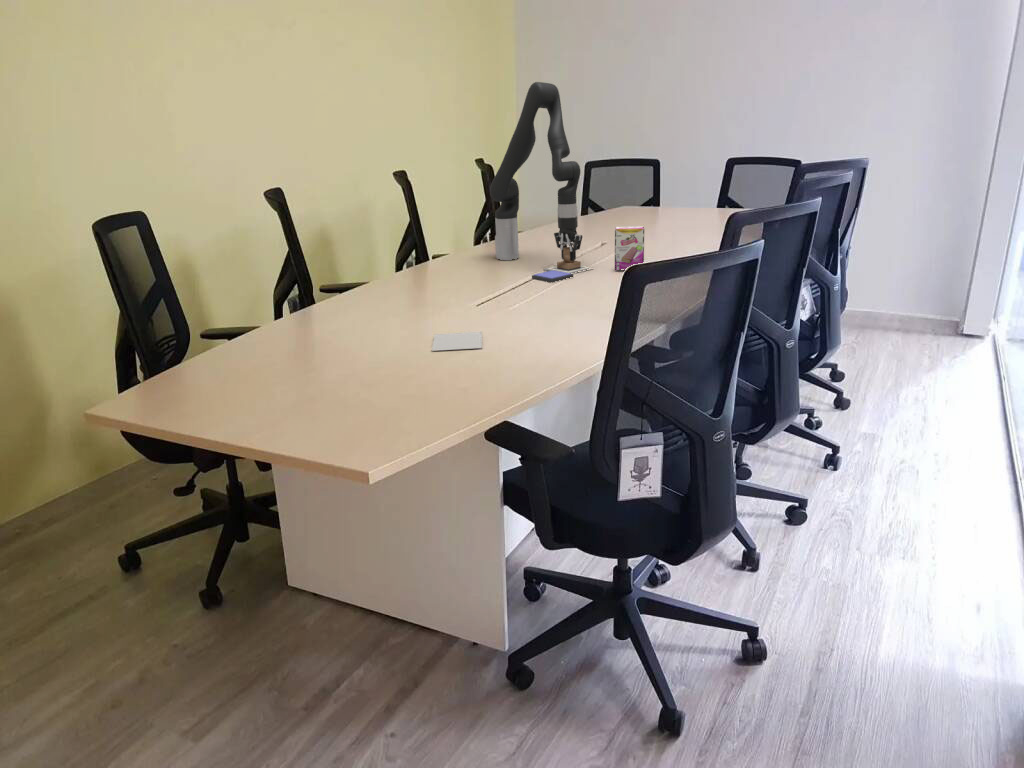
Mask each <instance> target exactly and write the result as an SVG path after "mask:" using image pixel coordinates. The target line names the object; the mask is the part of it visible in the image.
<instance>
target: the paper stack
mask: <svg viewBox="0 0 1024 768" xmlns="http://www.w3.org/2000/svg"><path fill="white" fill-rule="evenodd" d="M482 332H483V331H468V332H465V331H464V332H452V333H451V332H449V333H447V332H446V333H435V334H434V336H433V342H432V347H431V352H436V351H454V350H455V351H456V350H470V349H471V350H472V349H473V350H475V349H482V348H483V342H482V341H483V340H482V338H483V337H482V335H483V334H482Z"/></svg>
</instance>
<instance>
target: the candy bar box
mask: <svg viewBox="0 0 1024 768" xmlns="http://www.w3.org/2000/svg"><path fill="white" fill-rule="evenodd" d="M644 260H645V226H642V225H641V226H615V227H614V271H615V270H621V269H624V270H625V269H626V268H627V267H629V266H631V265H633V264H638V263H643V262H644V263H645V261H644ZM624 270H623V271H622V272H625V271H624Z"/></svg>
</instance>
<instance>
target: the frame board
mask: <svg viewBox="0 0 1024 768" xmlns="http://www.w3.org/2000/svg"><path fill="white" fill-rule="evenodd" d="M590 267H591V266H588V267H586V265H582V264H581V268H578V269H574V270H570V271H568V270H562V269H557V265H554V266H551V267H550V266H549V267H547V268H543V269H542V271H543V270H546V271H545V272H548V271H552V270H555V271H560V272H565V273H575V272H578V271H583V270H587V269H589V268H590Z"/></svg>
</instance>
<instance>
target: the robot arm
mask: <svg viewBox="0 0 1024 768" xmlns="http://www.w3.org/2000/svg"><path fill="white" fill-rule="evenodd" d="M521 109H522V110H521V113H520V117H519V119H518V121H517V125H516V127H515V130H514V131H513V134H512V136H511V139H510V141H509V143H508V147H507V149H506V151H505V152H506V153H505V154H504V157H503V159H502V162H501V164H500V166H499V167H498V170H497V171H496V173H495V175H494V177H493V179H492V181H491V184H490V185H489V195H490V198H491V199H492V201H494V202H498V203H500V205H499V207H498V208H497V209H496V210H495V212H494V217H495V218H494V220H495V222H494V223H495V236H494V246H495V247H494V248H495V259H497V260H498V259H500V260H499V261H513V260H512V259H515V260H518V259H519V258H520V253H519V252H520V250H519V248H520V247H519V226H518V225H519V224H518V212H519V208H520V189H519V188H520V187H519V184H518V182H517V180H516V179H515V178H514V176H515V174H516V173H517V172H518V170H519V169H520V168H521V167H522V166H523V165H524V164H525V163H526V161H527V160H528V159H529V157H530V155H531V154H532V151H533V150H534V149H533V148H534V146H535V144H536V141H537V140H536V130H535V119H536V115H537V113H538V111H539V109H545V110H547V113H548V115H549V127H548V131H547V135H546V136H547V143H548V147H549V149H550V154H551V166H552V167H551V174H552V178H553V179H554V180H555V181H557V182H559V183H561V182H567V183H566V185H565V186H563V187H560V188H558V190H557V227H558V229H559V231H558V232H554V233H553V236H554V239H555V243H556V247H557V249H560V250H561V254H560V255H561V260H562V261H564V256H563V248H564V247H570V261H576V259H577V254H576V251H578V250H580V249H581V245H582V242H583V241H582V240H583V235H582V234H578V232H577V228H578V226H579V225H578V205H577V192H578V191H577V190H578V185H579V181H580V176H581V167H580V164H579V163H578V162H577V161H576V160H575V161H574V160H572V161H571V160H570V161H569V160H568V161H562V159H565V158H567V157H568V156H569V155H570V153H571V151H570V146H569V142H568V139H567V135H566V132H565V127H564V122H563V112H562V111H563V110H562V104H561V96H560V92H559V88H558V86H556V85H555V84H553V83H549V82H543V81H535V82H533V83H532V84H531V85H530V86H529V88H528V91H527V93H526V97H525V99H524V104H523V106H522V108H521ZM517 258H518V259H517Z"/></svg>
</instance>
